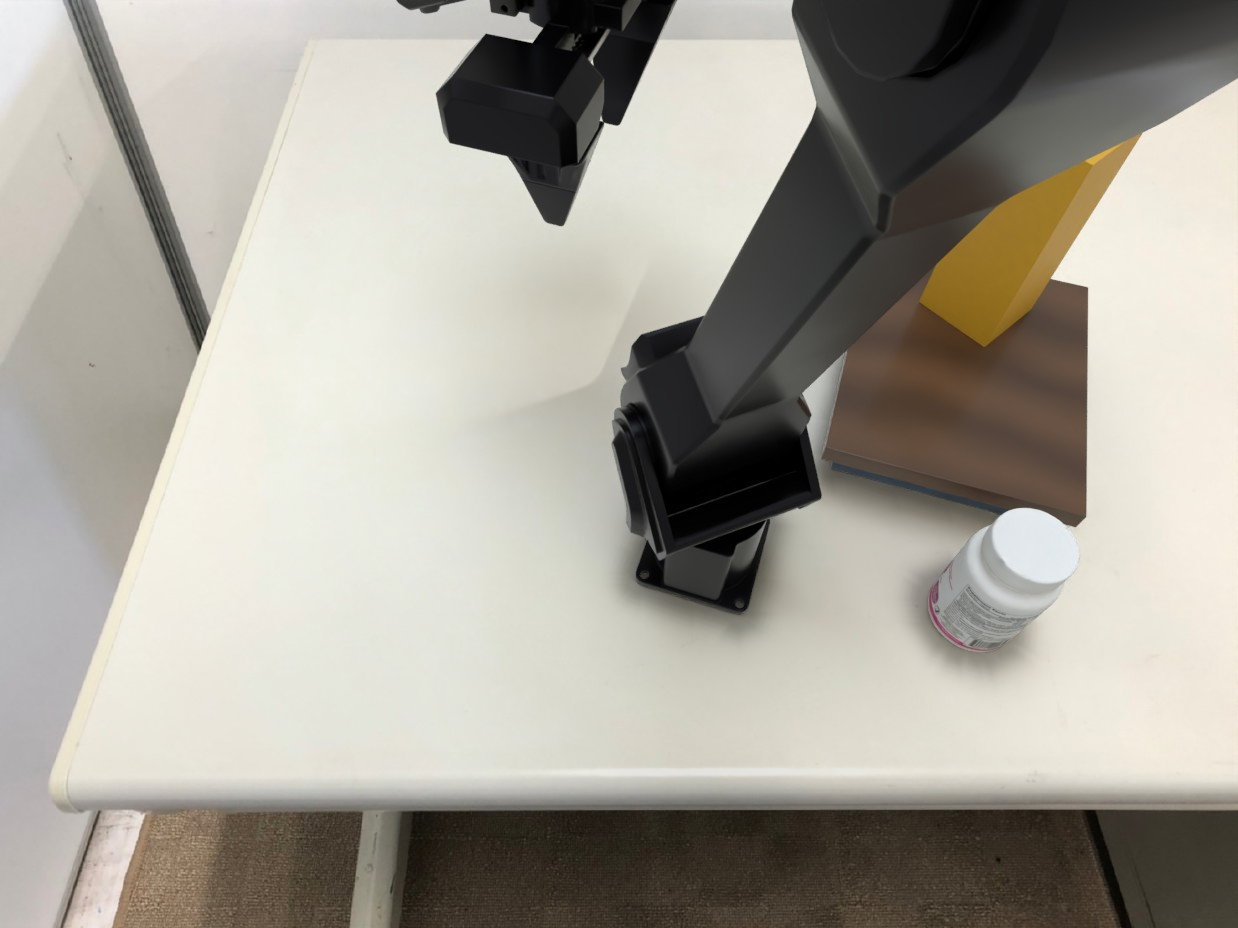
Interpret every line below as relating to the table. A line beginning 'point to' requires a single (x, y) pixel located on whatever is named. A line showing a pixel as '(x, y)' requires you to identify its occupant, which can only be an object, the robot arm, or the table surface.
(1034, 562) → the pill bottle
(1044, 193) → the block
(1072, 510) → the board
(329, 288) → the table surface
